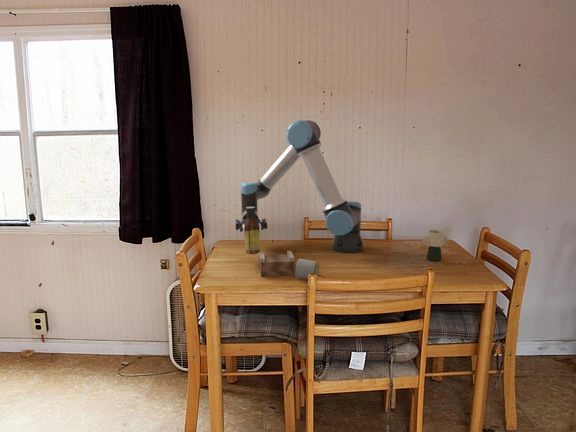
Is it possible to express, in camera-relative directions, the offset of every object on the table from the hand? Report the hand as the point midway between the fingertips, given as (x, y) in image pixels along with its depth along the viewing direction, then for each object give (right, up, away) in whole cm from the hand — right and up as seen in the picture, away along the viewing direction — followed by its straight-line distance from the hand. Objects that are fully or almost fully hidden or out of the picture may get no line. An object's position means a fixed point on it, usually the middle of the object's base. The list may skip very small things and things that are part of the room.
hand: (252, 230), depth 201 cm
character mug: (+80, -14, +14) cm, 82 cm away
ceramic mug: (+23, -19, -10) cm, 31 cm away
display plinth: (+10, -17, -4) cm, 20 cm away
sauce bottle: (0, -10, +7) cm, 12 cm away
